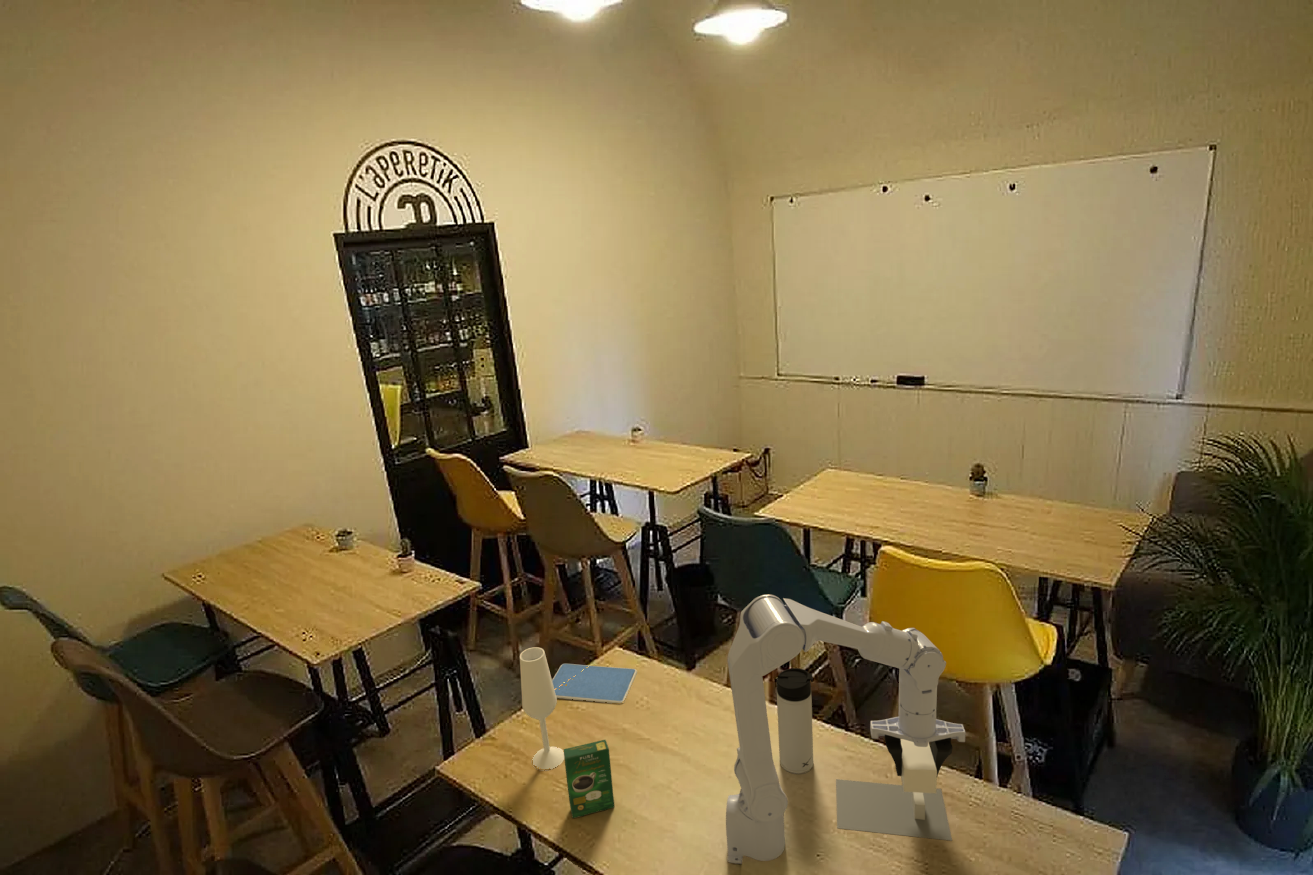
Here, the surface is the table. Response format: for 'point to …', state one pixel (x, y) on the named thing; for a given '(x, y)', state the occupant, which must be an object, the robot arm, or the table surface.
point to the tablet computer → (593, 683)
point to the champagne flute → (539, 702)
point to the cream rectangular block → (918, 768)
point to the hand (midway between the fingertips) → (916, 772)
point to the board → (891, 810)
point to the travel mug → (795, 720)
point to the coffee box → (589, 778)
